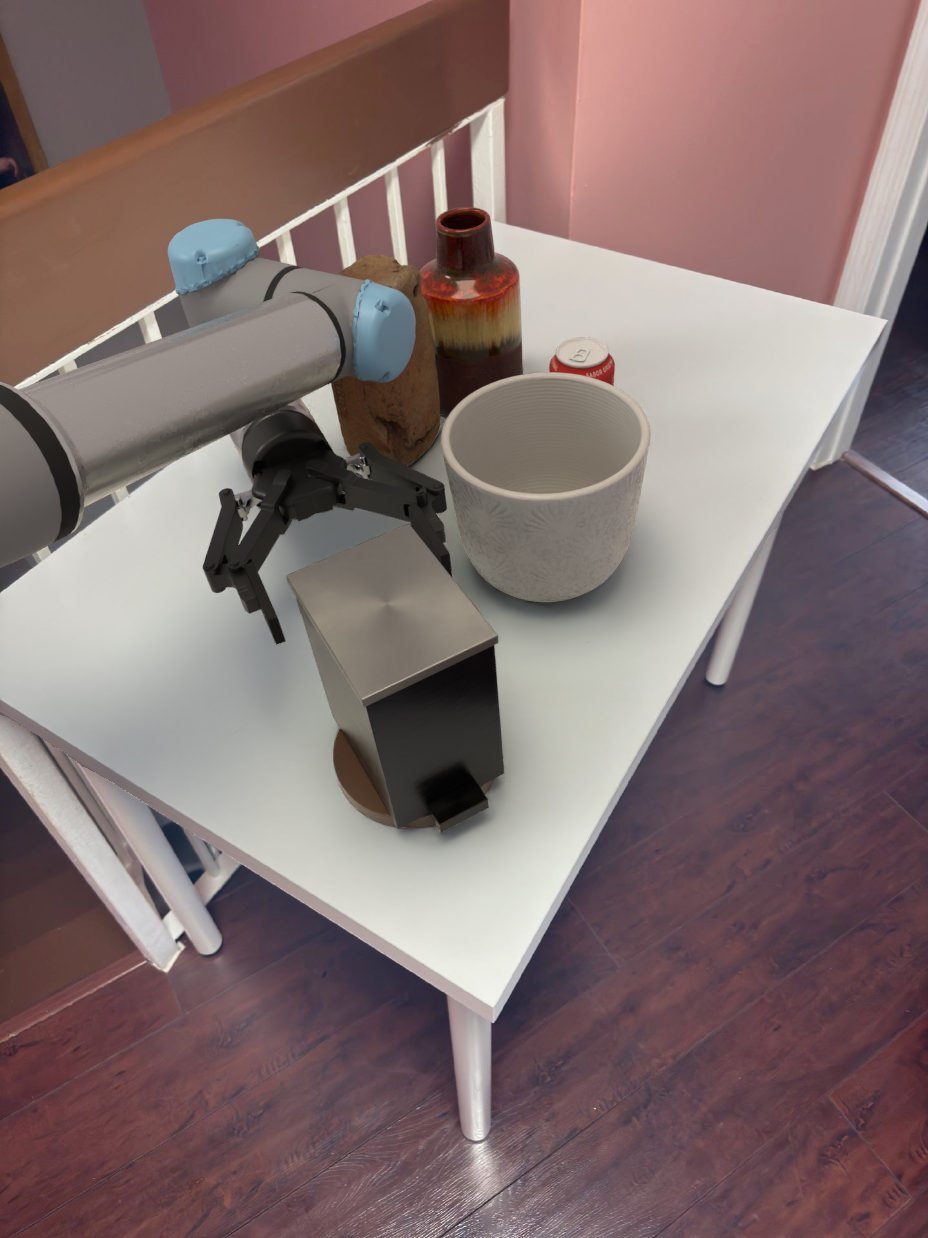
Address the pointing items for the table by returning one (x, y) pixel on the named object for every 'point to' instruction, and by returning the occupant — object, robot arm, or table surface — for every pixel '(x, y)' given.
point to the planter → (546, 481)
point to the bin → (406, 675)
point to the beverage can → (584, 359)
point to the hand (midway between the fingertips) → (363, 599)
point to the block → (406, 405)
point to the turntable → (367, 786)
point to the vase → (471, 307)
